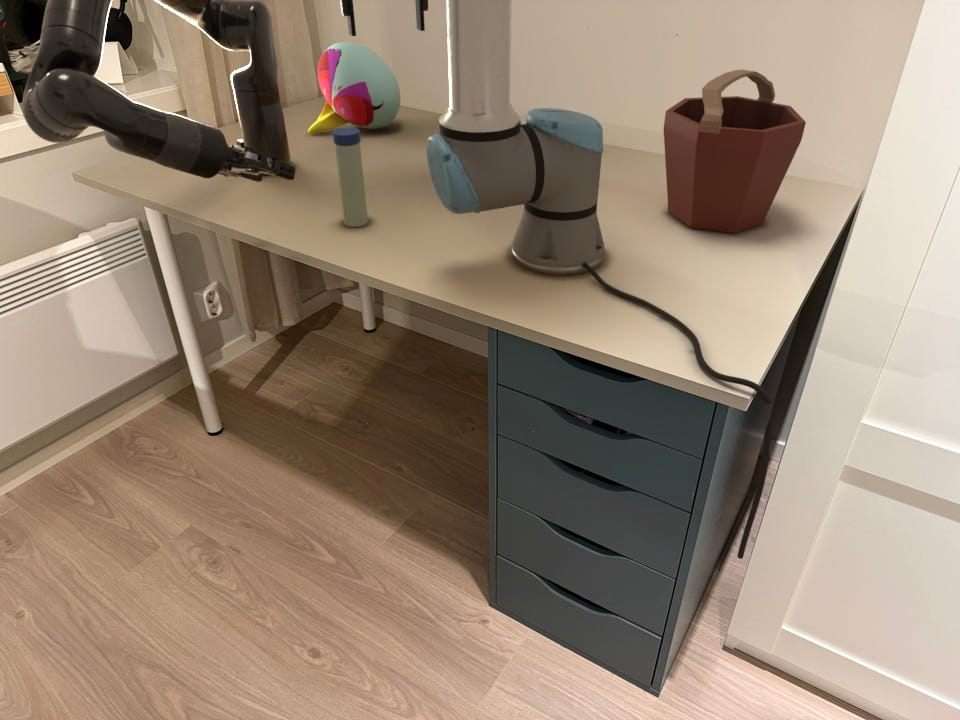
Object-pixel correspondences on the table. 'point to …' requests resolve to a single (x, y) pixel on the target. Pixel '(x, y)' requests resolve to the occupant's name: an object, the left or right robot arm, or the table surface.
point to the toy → (355, 88)
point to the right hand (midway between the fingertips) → (387, 32)
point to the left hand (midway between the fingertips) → (277, 174)
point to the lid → (346, 136)
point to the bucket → (728, 154)
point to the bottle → (351, 184)
